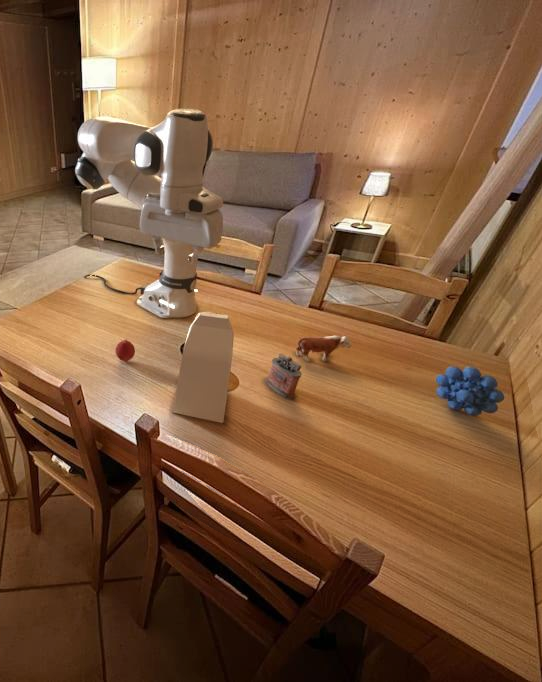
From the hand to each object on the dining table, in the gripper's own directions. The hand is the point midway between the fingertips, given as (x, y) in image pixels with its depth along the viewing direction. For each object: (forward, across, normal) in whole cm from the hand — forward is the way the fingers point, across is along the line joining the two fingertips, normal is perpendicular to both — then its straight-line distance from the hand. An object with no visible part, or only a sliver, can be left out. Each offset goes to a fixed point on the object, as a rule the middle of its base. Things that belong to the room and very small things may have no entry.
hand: (175, 257), depth 86 cm
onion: (+34, -11, -5) cm, 36 cm away
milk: (+34, +15, -6) cm, 38 cm away
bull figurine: (+34, +30, +33) cm, 56 cm away
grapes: (+34, +60, +32) cm, 76 cm away
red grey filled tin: (+34, +27, +13) cm, 45 cm away
